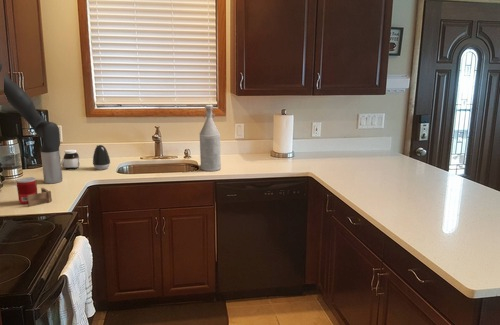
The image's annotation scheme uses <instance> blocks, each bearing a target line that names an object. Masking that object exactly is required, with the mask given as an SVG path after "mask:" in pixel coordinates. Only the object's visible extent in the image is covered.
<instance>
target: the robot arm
mask: <svg viewBox="0 0 500 325" xmlns="http://www.w3.org/2000/svg"><path fill="white" fill-rule="evenodd" d="M1 70H2V71H3V63H2V62H1V60H0V72H1ZM4 93H5V95H6V97H7V100H8V101H7V100H6V101H7V102H8V103H9V105H11V106H12V107H13V109H14V110H16V111H17V113H18V114H19V115H20V116H21V117H22V118H23V119H24V120H25V121H26V122H27V123H28V124H29V126H30V127H31V129H32V130H33V131H34V133H35V134H36V135H37V136H38V137H39V138H41V139H42V141H43V142H42V143H43V144H42V145H41V146H40V147H39V149H40V156H41V157H40V158H41V164H42V165H41V166H42V174H43V183H45V184H57V183H60V182H62V181H63V172H62V171H63V169H62V165H61V161H62V160H61V152H60V146H61V138H60V137H61V134H60V127H59V126H58V125H57V123H55V122H52V121H46V120H45V119H44V118H43V117H42V116H41V115H40V114H39V113H38V110H37V109H36V106H35V103H34V102H33V101H34V100H32V98H31V97H30V96H29V95H28V94H27V92H26V91H25V90H24V89H23V88H22V87H21V86H20V85H18V84H17V83H16V82H14V81H13V80H12V79H11V78H10V77H8V75H6V74H5V77H4ZM2 166H3V164H2V162H0V168H1V167H2Z"/></svg>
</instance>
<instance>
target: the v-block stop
mask: <svg viewBox="0 0 500 325" xmlns="http://www.w3.org/2000/svg"><path fill="white" fill-rule="evenodd" d="M40 191H41V192H37V193H38V194H32V195H27V197H28V204H27V205H28V207H34V206H37V205H38V206H39V205H43V204H49V203H51V202H52V201H53V199H52V191H51V190H48V189H46V188H45V187H40Z"/></svg>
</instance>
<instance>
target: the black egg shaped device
mask: <svg viewBox="0 0 500 325" xmlns="http://www.w3.org/2000/svg"><path fill="white" fill-rule="evenodd" d="M107 150H108V149H106V147H105V146H104V145H102V144H99V145H98V144H97V145H96V147H95V149H94V151H93V156H92V165H93V167H94V168H95V169H96V170H98V171H103V170H104V169H105V170H107V169H109V167H110V166H111V158H110V156H109V153H108V151H107Z"/></svg>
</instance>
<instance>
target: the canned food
mask: <svg viewBox="0 0 500 325" xmlns="http://www.w3.org/2000/svg"><path fill="white" fill-rule="evenodd" d="M16 189H17V196H18V202H19V204H20V205H28V197H27V195H32V194H38V193H39V192H38V186H37V179H36V177H33V176H28V177H22V178H18V179H16Z"/></svg>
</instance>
